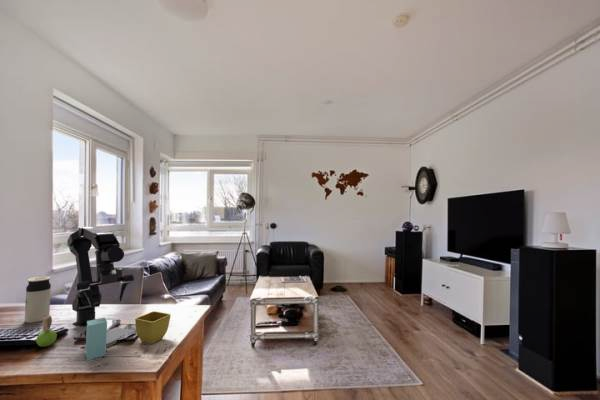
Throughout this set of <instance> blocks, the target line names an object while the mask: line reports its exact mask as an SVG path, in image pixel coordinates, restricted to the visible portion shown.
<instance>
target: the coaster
mask: <svg viewBox="0 0 600 400" xmlns="http://www.w3.org/2000/svg"><path fill="white" fill-rule="evenodd" d="M134 331H135V332H136V329H130V328H129V329H128V328H122V327H116V326H115V327H113V328H111V329H109V330H107V335H106V348H109V347H110V346H113V345H114V344H117V343H118V342H117V340H118V339H119V337H120V336H123V335H125V334H127V333H128V334H129V333H132V332H134ZM116 342H117V343H116Z"/></svg>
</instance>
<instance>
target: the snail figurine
mask: <svg viewBox="0 0 600 400" xmlns="http://www.w3.org/2000/svg"><path fill="white" fill-rule="evenodd" d="M44 316H47V315H43V320H42V321H41V322H42V332H40V333H39V334H38V335H37V337H36V339H35V343H36V344H37V345H38V347H40V348H43V347H44V348H45V347H50V346H51V345H52V344H54V342H55V341H56V340H57V336H58V335H57V332H56V331H55V330H53V329H51V326H52V323H53V317H52V316H51V315H49V316H47V317H46V318H44Z"/></svg>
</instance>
